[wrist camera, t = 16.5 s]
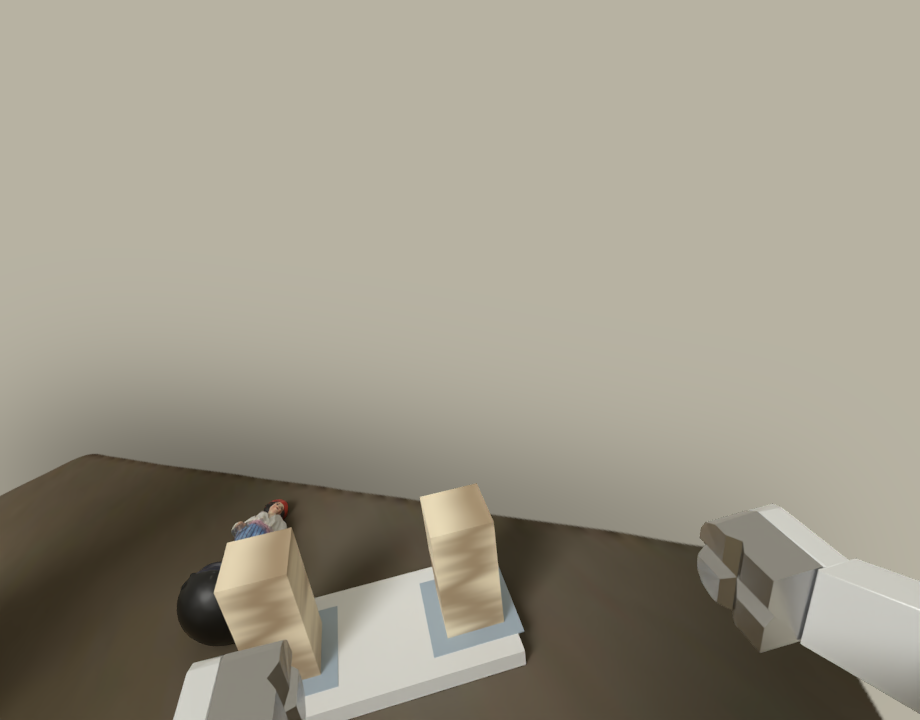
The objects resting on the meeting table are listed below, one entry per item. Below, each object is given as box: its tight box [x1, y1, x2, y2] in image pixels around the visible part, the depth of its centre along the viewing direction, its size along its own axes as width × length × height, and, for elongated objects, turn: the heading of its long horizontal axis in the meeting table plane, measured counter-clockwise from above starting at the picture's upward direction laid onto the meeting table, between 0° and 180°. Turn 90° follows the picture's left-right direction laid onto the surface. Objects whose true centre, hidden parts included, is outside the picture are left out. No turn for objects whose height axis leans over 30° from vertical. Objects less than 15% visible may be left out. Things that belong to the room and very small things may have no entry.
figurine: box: [177, 499, 288, 646], centre depth 47 cm, size 8×7×18 cm
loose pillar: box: [420, 483, 504, 638], centre depth 38 cm, size 4×4×10 cm
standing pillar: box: [214, 527, 322, 680], centre depth 36 cm, size 4×4×10 cm
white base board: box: [302, 566, 526, 720], centre depth 40 cm, size 21×10×2 cm, turn 104°
